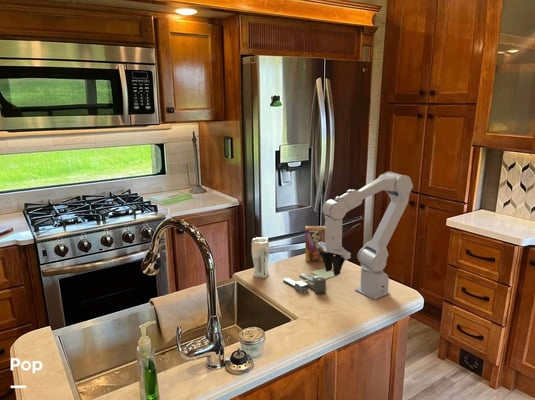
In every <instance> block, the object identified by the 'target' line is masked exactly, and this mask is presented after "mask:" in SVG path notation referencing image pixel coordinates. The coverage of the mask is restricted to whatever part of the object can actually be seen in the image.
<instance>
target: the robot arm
mask: <svg viewBox="0 0 535 400" xmlns="http://www.w3.org/2000/svg"><path fill="white" fill-rule="evenodd" d="M413 188H414V185H413V182H412V179H411V177H410V176H408V175H406V174H404V175H403V174H400V173H396V172H393V171H386V172H384V173H382V174H380V175H379V176H378V178H376V179H374V180H373V181H371V182H369V183H368V184H365V185H364V186H363V187H362V188H360V189H358V190H357V189H350V188H349V189H348V190H346V193H343V194H342V195H340V196H338V195H337V196H336V197H335V198H334V199H328V200H326V201H325V202H324V204H323V206H322V207H321V212H322V214H323V215H324V226H325V243H324V242H318V243H317V248H321V249H323V250H322V251H321V252H320V255H321V257H322V259H323V262H322V263H323V265H324V268H325V269H326V271H327V272H328V271H333V272H334V275H335V276H334V277H336V275H337V276H339V275H340V274H341V271H342V267H343V265H344V263H345V261H347V260H349V259H351V258H352V257H351V254H352V253H351V252H349V251H347V249H345V248H344V247H343V244H342V243H343V241H342V240H343V218H344V217H345V216H346V214H347V213H348V212H350V211H352V210H353V209H355V208H357V207H358V206H361V205H362V204H363V201H364V199H366V198H369V197H371V196H373V195H375V194H378V193H379V192H381V191H385V192H386V194H387V195H388V197H389V199H390V202H389V203H388V204H389V205H388V206H387V208H386V210H385V212H384V214H383V217H382V219H381V221H380V223H379V224H378V227H377V228H376V231H374V234H373V236H372V239H370V240H369V241H367V242H364V245H363V247H362V248H360V249H359V251H358V252H357V259H358V260H357V261H358V262H360V286H359V287H356V288H355V291H356V292H358V293H360V294H363V295H365V296H366V297H369V298H371V299H373V300H377V299H379V298H383V297H384V296H386V295H389V294H390V291H389V282H390V281H389V279H390V277H389V275H388V274H387V273H385V272H384V269H385V268H386V266H387V259H388V257H389V253H388V249H387V246H388V244H389V243H390V240H391V238H392V237H393V234H394V232H395V230H396V229H397V227H398V223H399V222H400V219H401V218H402V217H403V214H404V212H405V210H406V208H407V206H408V204H409V200H410V194H411V191H412V190H413Z"/></svg>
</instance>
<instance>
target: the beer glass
mask: <svg viewBox="0 0 535 400" xmlns="http://www.w3.org/2000/svg"><path fill="white" fill-rule="evenodd" d="M251 257H252V262H253V277H254V278H256V279H266V278H268V277H269V270H268V262H269V258H270V243H269V239H268V237H256V238H255V237H254V238H252V240H251Z"/></svg>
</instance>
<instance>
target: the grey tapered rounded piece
mask: <svg viewBox="0 0 535 400" xmlns="http://www.w3.org/2000/svg"><path fill="white" fill-rule="evenodd" d="M326 281H327V279H325V278H323V277H317V278H315V284H313V283H311V282H310V281H309V280H305V279H304V282H305V283H307V284H308V288H311V289H313V290H314V294H316V295H319V296H321V295H326V291H327V289H326V288H327V285H326V283H327V282H326Z"/></svg>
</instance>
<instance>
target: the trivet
mask: <svg viewBox="0 0 535 400" xmlns="http://www.w3.org/2000/svg"><path fill="white" fill-rule="evenodd" d="M310 272H311V274H312V275H314V276H317V275H320V276H322V277H324V278H325V279H326V280H328V279H331V278H334V277H336V276H338V275H336V276H335V275H334V271H333V270H331V271H328V272H327V271H326V269H325V267H323V268H320V269H317V270H314V271H310Z"/></svg>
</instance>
